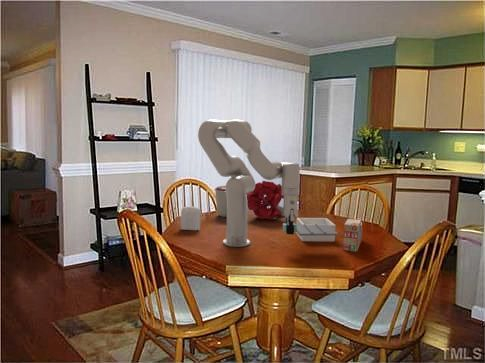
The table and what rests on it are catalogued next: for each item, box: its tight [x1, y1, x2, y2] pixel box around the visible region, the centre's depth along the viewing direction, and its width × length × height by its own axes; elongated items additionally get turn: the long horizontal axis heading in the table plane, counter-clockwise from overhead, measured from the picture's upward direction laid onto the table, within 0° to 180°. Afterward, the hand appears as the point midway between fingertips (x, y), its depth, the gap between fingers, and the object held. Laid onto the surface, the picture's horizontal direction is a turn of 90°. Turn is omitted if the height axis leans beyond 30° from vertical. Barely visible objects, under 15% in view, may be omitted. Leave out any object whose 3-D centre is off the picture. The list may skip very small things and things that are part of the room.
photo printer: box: [180, 205, 201, 232], centre depth 214 cm, size 10×4×12 cm, turn 84°
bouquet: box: [246, 180, 285, 220], centre depth 247 cm, size 22×24×30 cm
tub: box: [295, 217, 337, 242], centre depth 205 cm, size 16×16×8 cm
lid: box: [282, 222, 339, 236], centre depth 179 cm, size 22×16×3 cm
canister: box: [214, 185, 227, 218], centre depth 250 cm, size 18×18×21 cm
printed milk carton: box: [342, 218, 363, 253], centre depth 192 cm, size 21×6×12 cm, turn 158°
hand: (289, 232), depth 178 cm, fingers closed on lid, 3 cm apart
